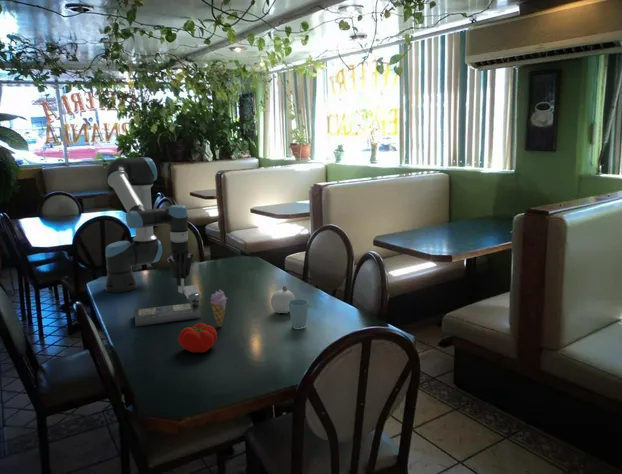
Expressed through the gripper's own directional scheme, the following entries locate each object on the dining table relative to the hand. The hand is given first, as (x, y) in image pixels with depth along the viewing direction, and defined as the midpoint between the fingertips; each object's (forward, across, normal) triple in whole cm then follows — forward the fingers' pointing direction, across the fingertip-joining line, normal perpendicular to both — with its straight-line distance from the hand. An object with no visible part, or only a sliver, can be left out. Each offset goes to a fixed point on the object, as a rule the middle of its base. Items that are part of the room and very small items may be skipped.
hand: (181, 292), depth 224 cm
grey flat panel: (+1, +2, -5) cm, 6 cm away
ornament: (+6, +22, -42) cm, 48 cm away
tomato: (+7, -24, -45) cm, 52 cm away
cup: (+6, +15, -58) cm, 60 cm away
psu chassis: (+7, -12, -7) cm, 16 cm away
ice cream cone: (+6, -5, -33) cm, 34 cm away
